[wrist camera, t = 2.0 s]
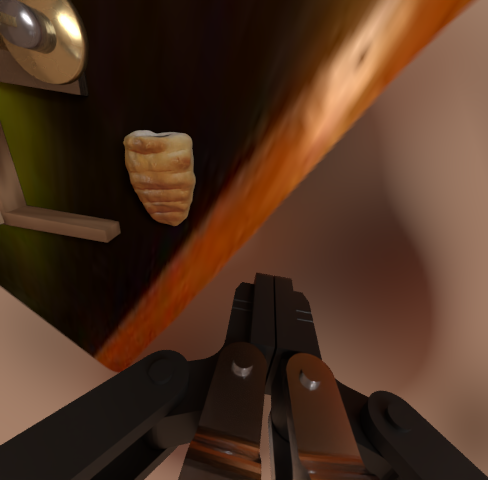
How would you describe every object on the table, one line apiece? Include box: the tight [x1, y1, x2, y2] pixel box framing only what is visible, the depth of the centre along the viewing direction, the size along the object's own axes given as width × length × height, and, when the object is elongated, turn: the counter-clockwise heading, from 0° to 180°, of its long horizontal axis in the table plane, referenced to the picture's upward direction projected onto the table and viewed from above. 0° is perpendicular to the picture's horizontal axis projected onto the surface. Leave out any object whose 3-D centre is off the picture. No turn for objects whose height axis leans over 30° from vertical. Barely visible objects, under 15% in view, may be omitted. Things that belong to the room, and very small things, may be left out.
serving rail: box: [0, 122, 120, 243], centre depth 23 cm, size 16×13×3 cm
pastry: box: [123, 130, 195, 226], centre depth 23 cm, size 9×7×4 cm
